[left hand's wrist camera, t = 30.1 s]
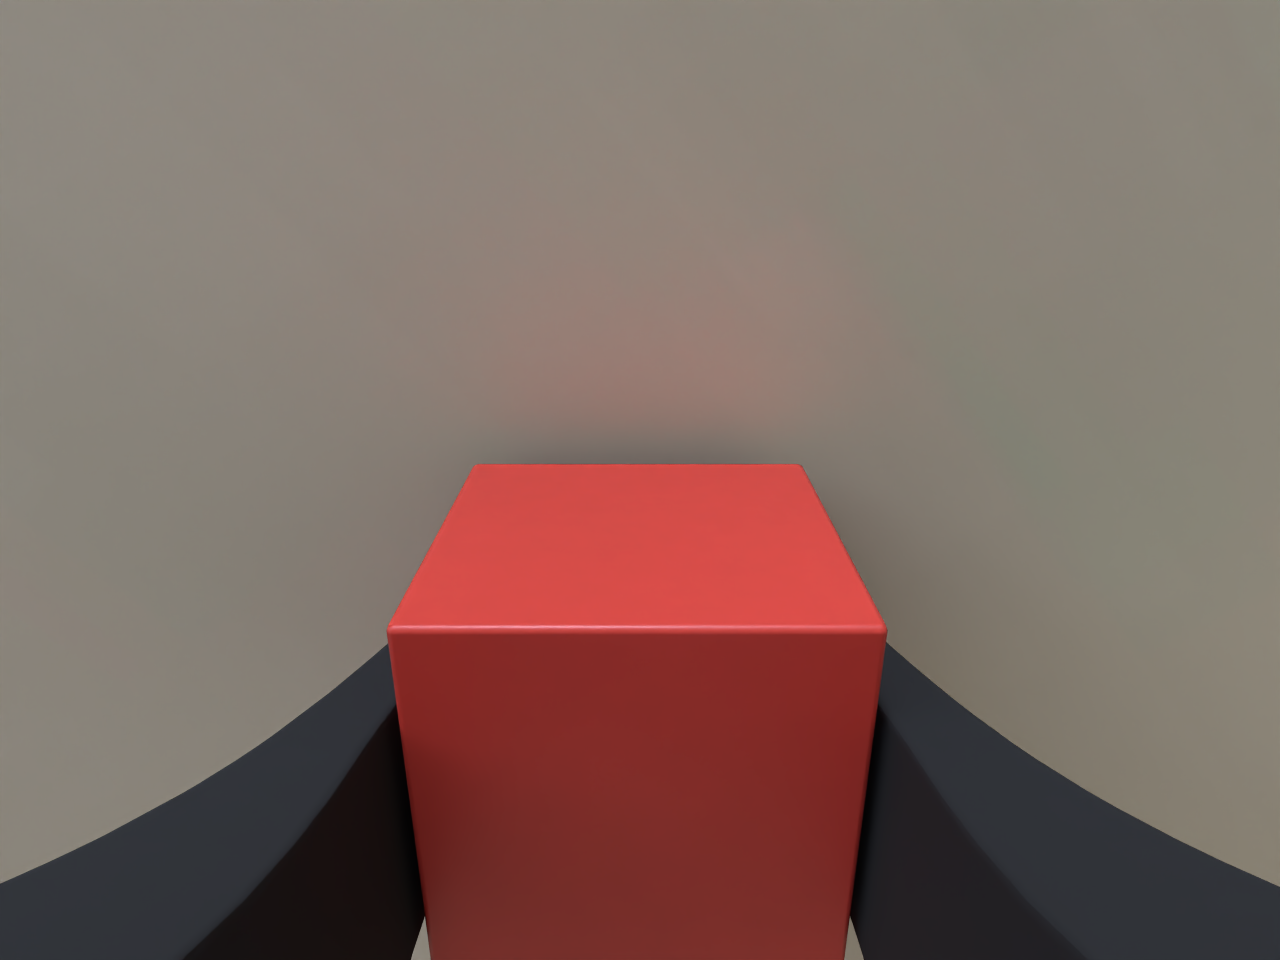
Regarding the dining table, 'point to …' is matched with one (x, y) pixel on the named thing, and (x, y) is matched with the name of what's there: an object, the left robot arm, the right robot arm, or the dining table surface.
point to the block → (637, 715)
